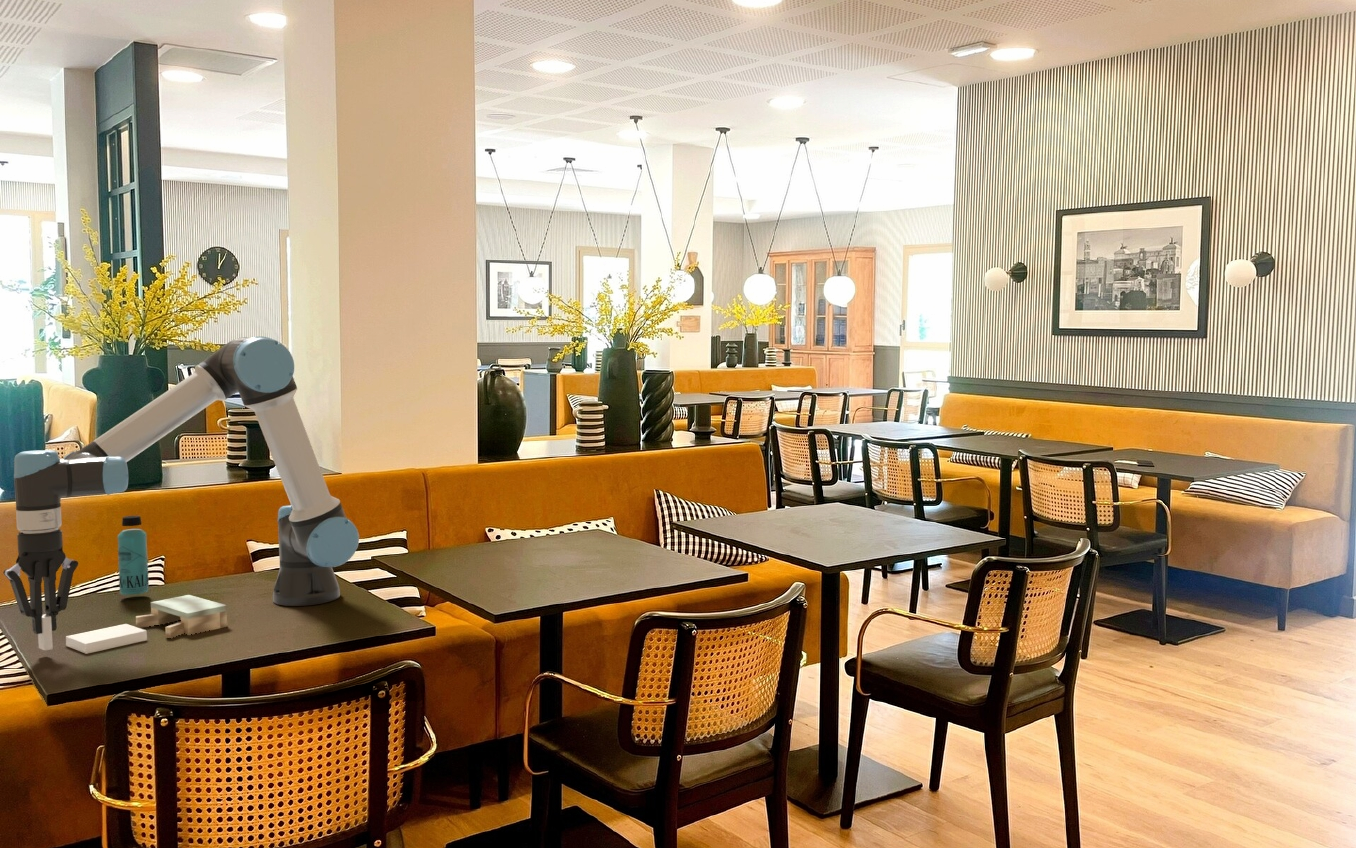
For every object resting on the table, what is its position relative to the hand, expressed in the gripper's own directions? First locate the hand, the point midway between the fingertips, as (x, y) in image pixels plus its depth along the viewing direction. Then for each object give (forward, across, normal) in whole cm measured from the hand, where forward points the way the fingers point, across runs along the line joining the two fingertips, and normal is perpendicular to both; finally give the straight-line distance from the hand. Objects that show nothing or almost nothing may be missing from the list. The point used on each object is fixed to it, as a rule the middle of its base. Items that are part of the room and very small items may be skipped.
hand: (45, 648), depth 209 cm
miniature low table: (+2, +27, 0) cm, 27 cm away
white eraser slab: (+2, +12, 0) cm, 12 cm away
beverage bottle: (+2, +33, +34) cm, 48 cm away
